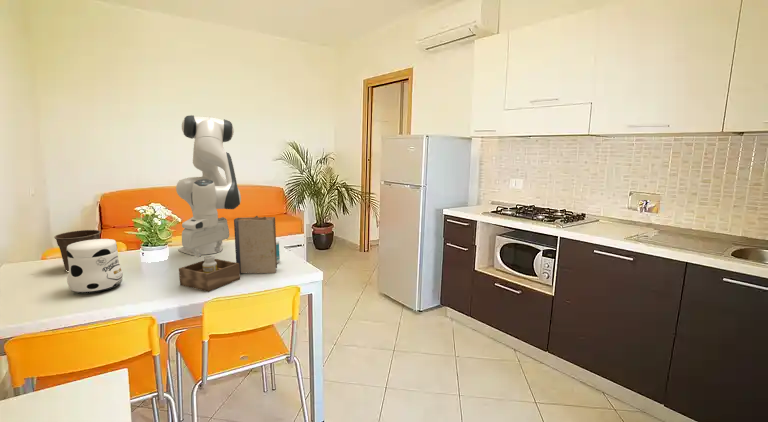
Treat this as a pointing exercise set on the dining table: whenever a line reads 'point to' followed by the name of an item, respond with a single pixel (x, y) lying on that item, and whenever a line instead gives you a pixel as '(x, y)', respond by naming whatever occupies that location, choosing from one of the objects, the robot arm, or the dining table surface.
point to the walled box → (209, 275)
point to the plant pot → (74, 241)
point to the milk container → (93, 266)
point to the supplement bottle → (209, 264)
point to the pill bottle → (277, 251)
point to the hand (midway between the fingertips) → (207, 254)
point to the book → (255, 244)
